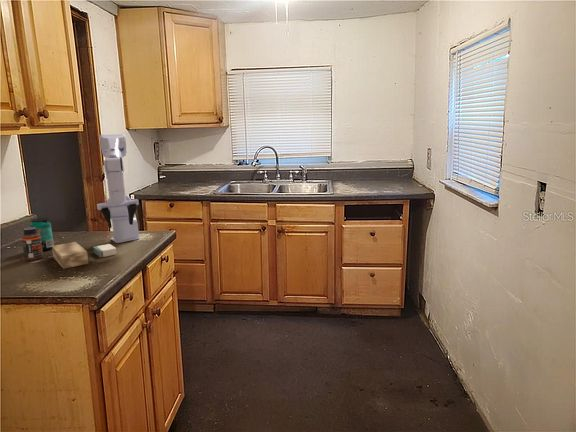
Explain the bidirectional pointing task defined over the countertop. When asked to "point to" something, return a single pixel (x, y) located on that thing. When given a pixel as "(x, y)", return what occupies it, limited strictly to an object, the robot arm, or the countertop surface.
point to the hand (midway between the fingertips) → (120, 225)
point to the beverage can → (44, 232)
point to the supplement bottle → (32, 244)
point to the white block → (104, 250)
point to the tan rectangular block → (69, 255)
